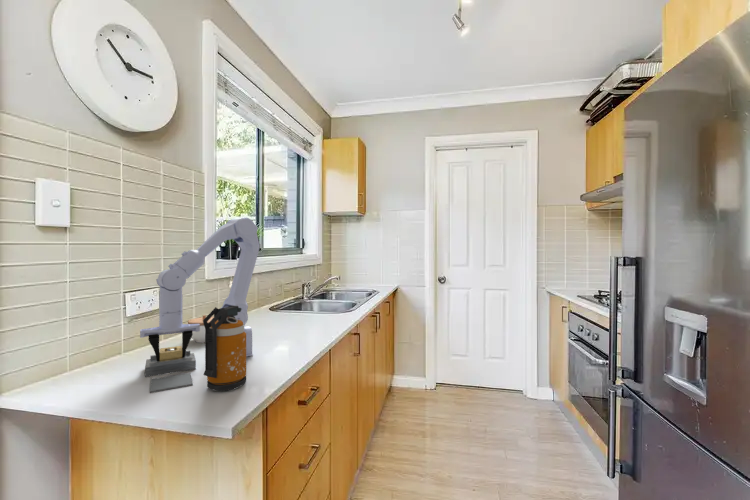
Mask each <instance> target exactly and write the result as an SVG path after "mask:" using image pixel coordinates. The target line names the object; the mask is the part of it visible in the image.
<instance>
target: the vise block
mask: <svg viewBox="0 0 750 500" xmlns="http://www.w3.org/2000/svg"><path fill="white" fill-rule="evenodd" d="M173 350H175V349H168V350H167V351H173ZM196 364H197V361H196V357H195V353H193V352H192V353H191V350H189V349H188V350H186V353H185V358H178V359H171V360H164V361H157V358H156V355H155V354H153V355H150V358H149V359H146V361H145V366H144V378H149V377H155V376H160V375H169V374H174V373H180V372H187V371H193V370H196V369H197V368H196V367H197V365H196Z"/></svg>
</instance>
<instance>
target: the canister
mask: <svg viewBox="0 0 750 500" xmlns="http://www.w3.org/2000/svg"><path fill="white" fill-rule="evenodd" d="M238 312H241V308H238V306H228V307H224V308H221V307H220V308H218V307H214V308H213V310H211V311H210V312H209V313H208V315H206V318H205V319H204V320H203V323H204V327H205V342H204V343H205V345H204V346H205V352H204V354H205V355H204V356H205V357H204V358H205V359H204V361H205V362H204V363H205V364H204V367H205V370H204V372H203V376H205V377H206V379H207V382H206V387H207V388H208V389H209V390H211V391H212V390H213V391H217V392H227V391H232V390H235V389H238V388H241V387H242V386H243V385H244V384H246V383H247V357H246V333H245V332H244V324H243V322H242V321H241V320H237V319H235V317H234V316H236V315H238ZM211 317H214V318H213V319H212V320H211V321H210V322H209V323H207V321H208V320H209V319H210V318H211ZM217 320H218V321H217Z"/></svg>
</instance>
